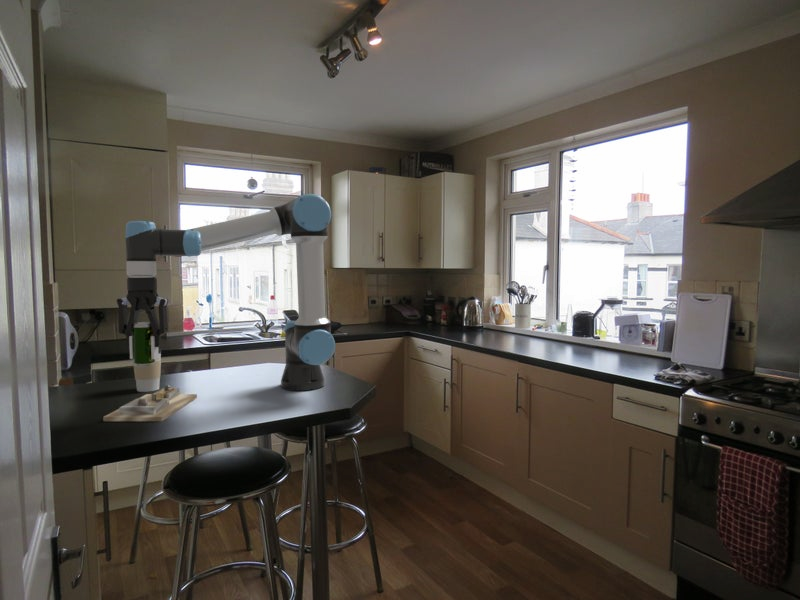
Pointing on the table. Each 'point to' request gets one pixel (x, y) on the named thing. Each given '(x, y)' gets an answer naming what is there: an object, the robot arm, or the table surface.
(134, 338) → the beer can
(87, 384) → the table surface
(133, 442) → the table surface
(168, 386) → the bar
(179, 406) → the dock
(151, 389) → the coffee cup
